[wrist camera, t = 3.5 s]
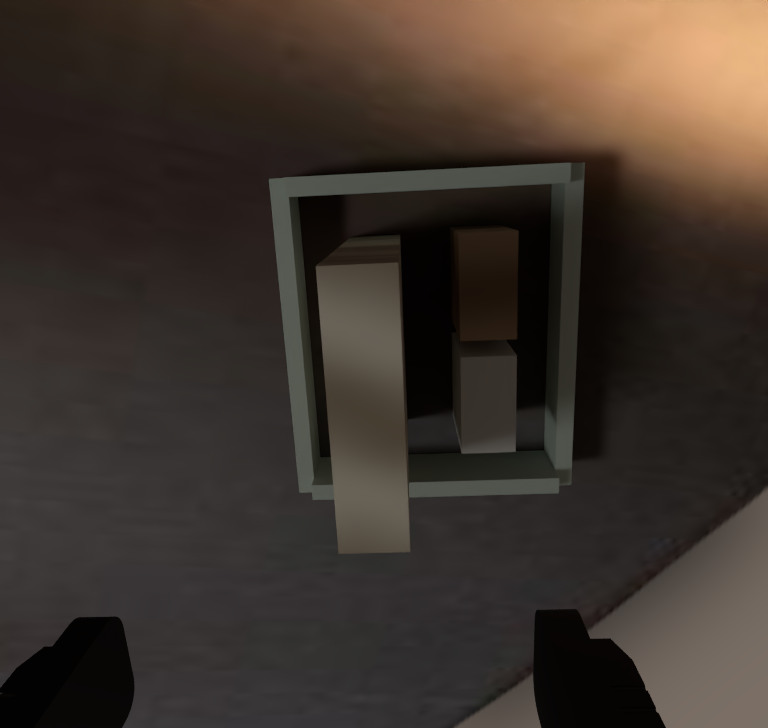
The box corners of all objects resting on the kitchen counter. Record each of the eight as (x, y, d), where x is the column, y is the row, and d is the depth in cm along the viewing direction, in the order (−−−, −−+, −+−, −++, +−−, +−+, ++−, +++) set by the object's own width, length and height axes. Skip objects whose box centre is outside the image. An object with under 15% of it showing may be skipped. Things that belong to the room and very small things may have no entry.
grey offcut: (451, 332, 37) (460, 357, 32) (499, 330, 37) (516, 355, 31) (452, 414, 39) (461, 453, 33) (498, 413, 39) (515, 451, 33)
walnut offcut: (449, 227, 35) (458, 233, 30) (499, 224, 35) (518, 230, 30) (451, 318, 37) (460, 341, 31) (499, 316, 37) (516, 339, 31)
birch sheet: (350, 237, 36) (315, 266, 21) (400, 234, 36) (398, 262, 21) (362, 421, 39) (338, 553, 25) (407, 419, 39) (410, 552, 25)
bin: (279, 180, 35) (264, 178, 31) (569, 165, 34) (590, 161, 30) (306, 471, 40) (296, 500, 36) (558, 463, 39) (575, 492, 36)
